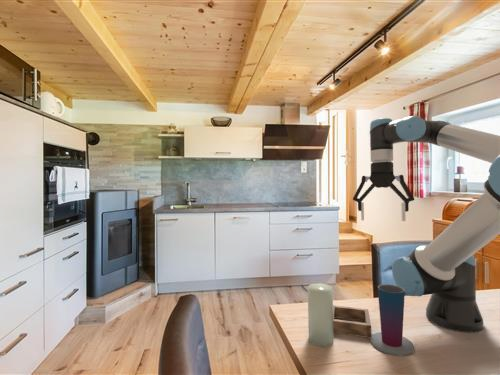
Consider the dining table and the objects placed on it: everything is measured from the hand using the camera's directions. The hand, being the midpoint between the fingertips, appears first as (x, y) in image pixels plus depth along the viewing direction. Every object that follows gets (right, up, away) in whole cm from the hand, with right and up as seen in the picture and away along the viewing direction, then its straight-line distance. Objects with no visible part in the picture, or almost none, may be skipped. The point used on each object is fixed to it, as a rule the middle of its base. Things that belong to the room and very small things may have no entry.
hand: (382, 220), depth 104 cm
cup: (-9, -31, -24) cm, 41 cm away
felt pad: (-9, -32, -24) cm, 41 cm away
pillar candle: (-28, -32, -21) cm, 47 cm away
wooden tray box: (-17, -32, -13) cm, 38 cm away
